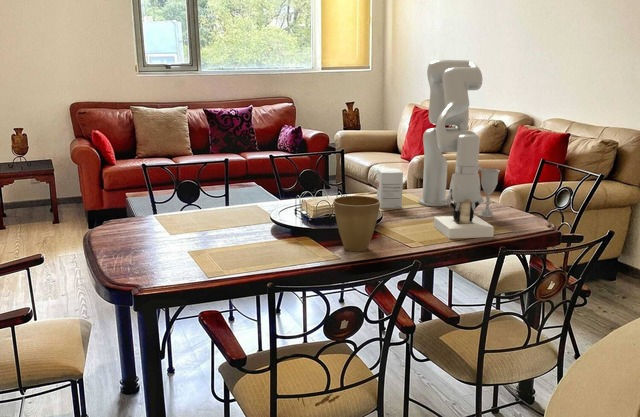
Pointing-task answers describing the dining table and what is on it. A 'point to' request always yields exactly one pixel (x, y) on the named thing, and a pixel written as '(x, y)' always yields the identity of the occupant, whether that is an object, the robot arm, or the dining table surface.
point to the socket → (463, 228)
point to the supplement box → (389, 188)
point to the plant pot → (356, 220)
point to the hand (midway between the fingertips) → (463, 220)
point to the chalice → (488, 187)
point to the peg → (464, 212)
